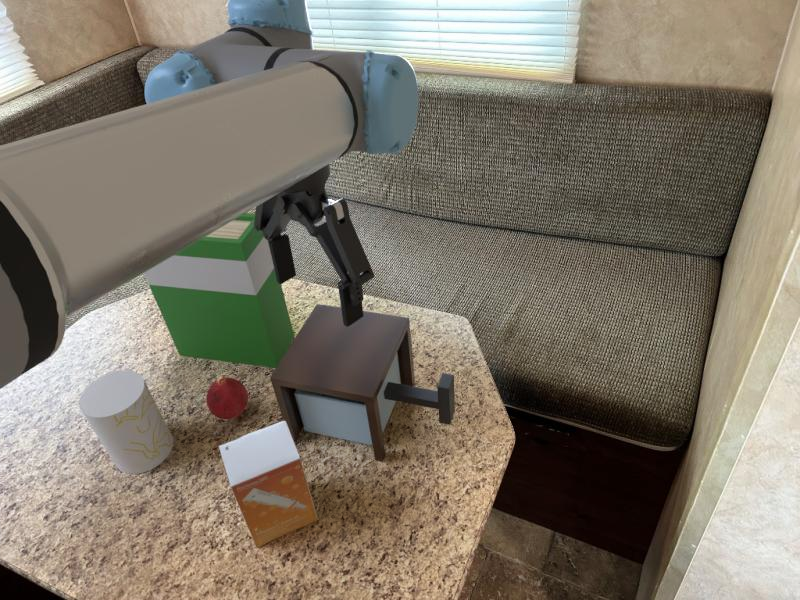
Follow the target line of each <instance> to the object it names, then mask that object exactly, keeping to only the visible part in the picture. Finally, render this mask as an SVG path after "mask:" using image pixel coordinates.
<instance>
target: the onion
mask: <svg viewBox="0 0 800 600" xmlns="http://www.w3.org/2000/svg"><path fill="white" fill-rule="evenodd" d="M205 398H206V399H205V402H206V406H207V408H208V410H209V412H210V414H211V415H212V416H214V417H216V418H217V419H219V420H227V421H228V420H231V419H235V418H237V417H238V416H240V415H241V414H242V413H244V411H245V410H246V409H247V406H248V404H249V401H250V400H249V391H248V389H247V388H246V386H245V385H244V384H243V382H241V381H240V380H238V379H236V378H234V377H226V376H225V375H220V376H218V378H217V379H216V380H215V381H213V382H212V383H211V384H210V386H209V388H208V389H207V392H206V396H205Z"/></svg>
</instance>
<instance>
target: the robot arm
mask: <svg viewBox="0 0 800 600" xmlns="http://www.w3.org/2000/svg"><path fill="white" fill-rule="evenodd" d="M227 13H228V21H227V22H228V25H229V28H230V29H227V30H226V31H224V32H223V33H222V34H219V35H217V36H215V37H211V38H210V39H207V40H205V41H203V42H200V43H199V44H196V45H194V46H192V47H190V48H188V49H185V50H178V51H177V52H174V53H173V55H172V56H171V57H169V58H167V59H166V60H164V61H162V62H161V63H159V64H158V65H155V66H154V67H153V68H152V70H150V72H149V73H148V75H147V77H146V80H145V84H144V99H145V103H146V104H141V105H139V106H135V107H131V108H127V109H124V110H120V111H116V112H114V113H111V114H110V113H109V114H107V115H103V116H100V117H96V118H93V119H89V120H84V121H82V122H79V123H75V124H72V125H68V126H65V127H61V128H58V129H54V130H51V131H47V132H43V133H40V134H36V135H34V136H29V137H25V138H21V139H19V140H16V141H11V142H8V143H5V144H1V145H0V390H1V389H2V388H4V387H5V386H7V385H9V384H10V383H12V382H14V381H15V380H17V379H18V378H19V377H21V376H22V375H23V374H26V373H27V372H28V371H30V370H32V369H33V368H35V367H36V366H39V365H40V364H42V363H43V362H46V361H47V360H48V359H50V358H51V357H52V356H53V355H55V354H56V353H57V351H58V350H59V348H60V347H61V345H62V343H63V340H64V336H65V332H66V323H67V319H68V318H71V316H74V315H75V314H76V313H78V312H80V311H82V310H83V309H85V308H87V307H89V306H90V305H92V304H94V303H95V302H97V301H99V300H100V299H102V298H104V297H106V296H107V295H109V294H110V293H112V292H114V291H116V290H118V289H119V288H120V287H122V286H124V285H126V284H128V283H130V282H131V281H133V280H134V279H136V278H137V277H139V276H141V275H143V274H144V272H146V271H148V270H150V269H151V268H153V267H155V266H156V265H158V264H160V263H161V262H163V261H165V260H167V259H168V258H170V257H172V256H173V255H175V254H177V253H178V252H180V251H182V250H184V249H185V248H187V247H189V246H190V245H192V244H194V243H195V242H197V241H199V240H201V239H202V238H204V237H206V236H207V235H209V234H211V233H212V232H214V231H216V230H217V229H219V228H221V227H223V226H224V225H226V224H228V223H229V222H231V221H233V220H234V219H236V218H238V217H240V216H241V215H243V214H245V213H248V212H250V211H252V210H253V209H255V212H254V214H255V219H254V227H255V229H256V230H257V231H260V230H261V231H262V232H263V236H264V238H265V239H266V240H268V244H269V247H270V253H271V256H272V261H273V265H274V269H275V274H276V278H277V282H278V283H279V284H281V285H282V284H284V283H286V282H289V280H291V279H293V278H295V277H296V276H297V272H296V271H297V270H296V267H295V266H296V265H295V262H294V257H293V252H292V246H291V241H290V236H289V235H288V234H286V233H284V232H286V231H288V230H289V229H288V228H287V227H288V225H289V223H290V222H291V221H293V222H296V223H299V224H300V225H301V226H303V227H304V228H305V229H306V231H307V233H308V235H310V237H313V238H315V239H316V240H317V242H318V244H319V246H320V247H321V248H322V250H323V252H324V254H325V255H326V257H327V258H328V260H329V262H330V263H331V265H332V267H333V269H334V270H335V272H336V274H337V275H338V277H339V279H340V280H339V281H337V288H338V294H339V295H338V296H339V302H340V307H341V310H342V316H343V323H344V325H345V326H347V327H349V326H350V325H352V324H353V323H354V322H356V321H357V320H359V319H360V318H362V317H363V316H364V315H363V311H364V308H363V307H364V306H363V302H364V292H363V291H364V290H363V289H364V288H363V285H365V284H366V283H368V282H369V281H371V280H372V279H373V278H375V273H374V270H373V268H372V266H371V263H370V261H369V259H368V257H367V254H366V252H365V249H364V248H363V245H362V242H361V240H360V238H359V236H358V234H357V230H356V228H355V226H354V224H353V222H352V219H351V214H350V210H349V206H348V202H347V201H346V199H345V198H342V197H341V198H340V199H337V200H336V201H335V200H332V199H330V198H329V195H328V193H327V191H326V184H327V182H328V179H329V178H330V175H331V167H330V166H331V165H330V164H331V163H333V162H334V161H337V160H338V159H341V158H343V157H344V156H346V155H348V154H349V153H351V152H363V153H367V155H374V154H383V155H394V154H398V153H400V152H401V151H402V150H404V149H405V148H406V147H407V145H408V144H409V142H410V141H411V139H412V137H413V135H414V132H415V128H416V125H417V121H418V120H417V119H418V115H419V84H418V83H419V82H418V79H417V75H416V72H415V70H414V68H413V66H412V64H411V63H410V62H409V60H408V59H406V58H405V57H403V56H401V55H398V54H389V53H384V52H383V53H381V52H376V51H373V50H372V49H366V51H355V50H330V49H315V47H314V38H313V37H314V31H313V30H312V26H311V25H312V24H311V21H310V16H309V11H308V6H307V1H306V0H229V1H228V3H227ZM322 220H323V221H325V222H323V223H321V224H319V223H320V222H321V221H322ZM317 224H319V225H317ZM282 233H283V234H282Z"/></svg>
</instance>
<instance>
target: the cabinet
mask: <svg viewBox="0 0 800 600" xmlns="http://www.w3.org/2000/svg"><path fill="white" fill-rule="evenodd" d="M363 315H364V316H363V317H362V318H360V319H359V320H357V321H356V322H354V323H353V324H352V325H350V326H349V327H347V326H345V325H344V323H343V316H342V310H341V306H336V305H329V304H328V305H327V304H323V303H316V305H315V306H314V307H313V309H312V311H311V312H310V314H309V315H308V317H307V318H306V320H305V322H304V323H303V324H302V326H301V329H300V330H299V331H298V333H297V334H296V336H295V337H294V339H293V341H292V342H291V344H290V346H289V348H288V350H287V352H286V353H285V355H284V356H283V358H282V359H281V361H280V363H279V364H278V366H277V367H276V368H274V369H273V372H272V373H271V375H270V376H269V380H270V384H271V386H272V389H273V392H274V396H275V399H276V402H277V405H278V408H279V412H280V415H281V419H282V421H286V423H287V425H288V428H289V431H290V433H291V436H292V438H293V441H294V443H296V444H297V443H298V442H299V440H300V438H301V434H302V432H303V430H304V426H303V423H302V419H301V416H300V412H299V409H298V405H297V402H296V398H295V394H294V393H295V391H296V389H299V390H304V391H309V392H315V393H320V394H325V395H330V396H335V397H340V398H345V399H350V400H355V401H360V402H365V406H366V412H367V417H368V423H369V429H370V435H371V440H372V445H371V446H372V452H373V457H374V461H376V462H380V463H384V461H385V459H386V456H387V454H386V446H385V442H384V432H383V433H382V426H381V420H380V413H379V407H378V400H377V396H378V394H379V391H380V389H381V387H382V385H383V382H384V380H385V378H386V376H387V374H388V371H389V369H390V367H391V365H392V362H393V360H394V358H395V356H396V353H398V362H399V371H400V379H401V384H403V385H408V386H414V385H415V383H416V377H415V368H414V367H415V366H414V357H413V356H414V355H413V346H412V345H413V344H412V336H411V335H412V334H411V322H410V317H408V316H400V315H396V314H395V315H394V314H389V313H381V312H374V311H368V310H363Z"/></svg>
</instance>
